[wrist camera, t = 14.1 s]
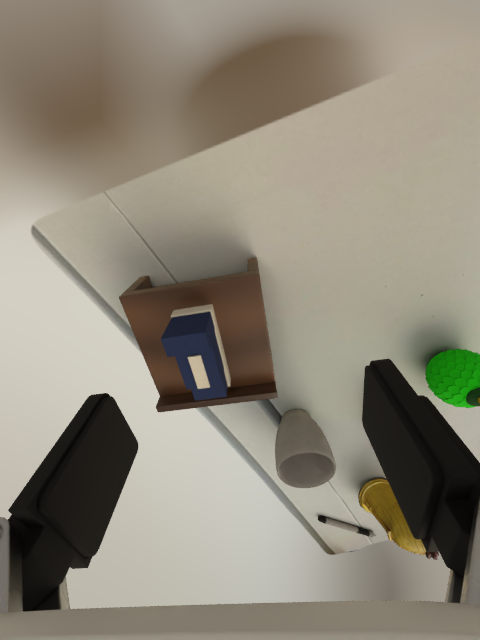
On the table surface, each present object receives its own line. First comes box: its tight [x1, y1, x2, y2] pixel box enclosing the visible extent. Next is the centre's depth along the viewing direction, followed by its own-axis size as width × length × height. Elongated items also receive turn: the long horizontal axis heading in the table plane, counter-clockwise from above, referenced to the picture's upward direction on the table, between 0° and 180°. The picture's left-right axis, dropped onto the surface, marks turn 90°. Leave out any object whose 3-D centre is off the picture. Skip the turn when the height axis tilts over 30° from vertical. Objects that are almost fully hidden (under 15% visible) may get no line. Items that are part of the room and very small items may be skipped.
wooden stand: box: [119, 257, 278, 412], centre depth 35 cm, size 16×16×9 cm
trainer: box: [161, 304, 231, 401], centre depth 31 cm, size 11×5×6 cm, turn 10°
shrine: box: [358, 478, 439, 560], centre depth 50 cm, size 12×8×15 cm
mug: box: [275, 409, 336, 488], centre depth 45 cm, size 12×9×10 cm
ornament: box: [425, 349, 480, 408], centre depth 38 cm, size 8×8×10 cm
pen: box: [318, 516, 376, 537], centre depth 64 cm, size 1×16×1 cm, turn 64°
